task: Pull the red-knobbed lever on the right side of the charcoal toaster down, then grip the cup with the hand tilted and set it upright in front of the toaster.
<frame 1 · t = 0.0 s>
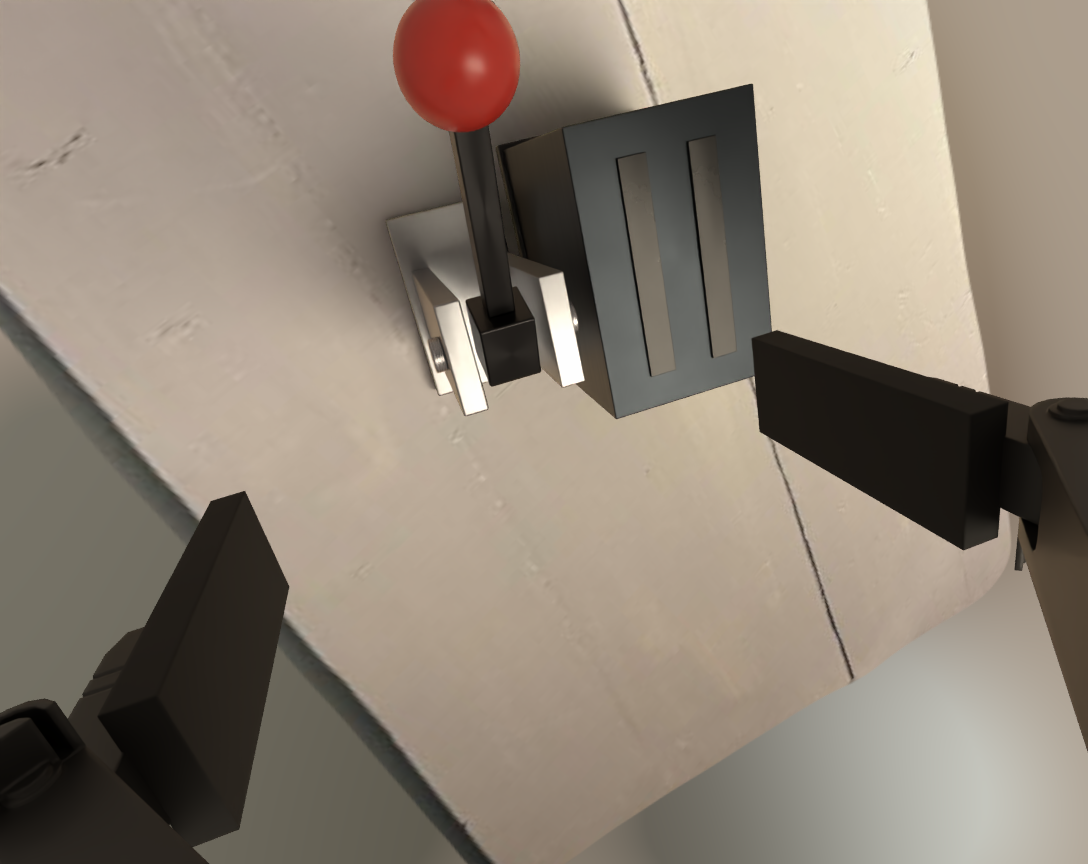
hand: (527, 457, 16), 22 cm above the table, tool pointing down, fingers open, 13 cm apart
lever: (483, 217, 22), point 14 cm above the table, hinge at 25.0°
bracket: (462, 296, 36), on the table
toaster: (588, 245, 37), on the table
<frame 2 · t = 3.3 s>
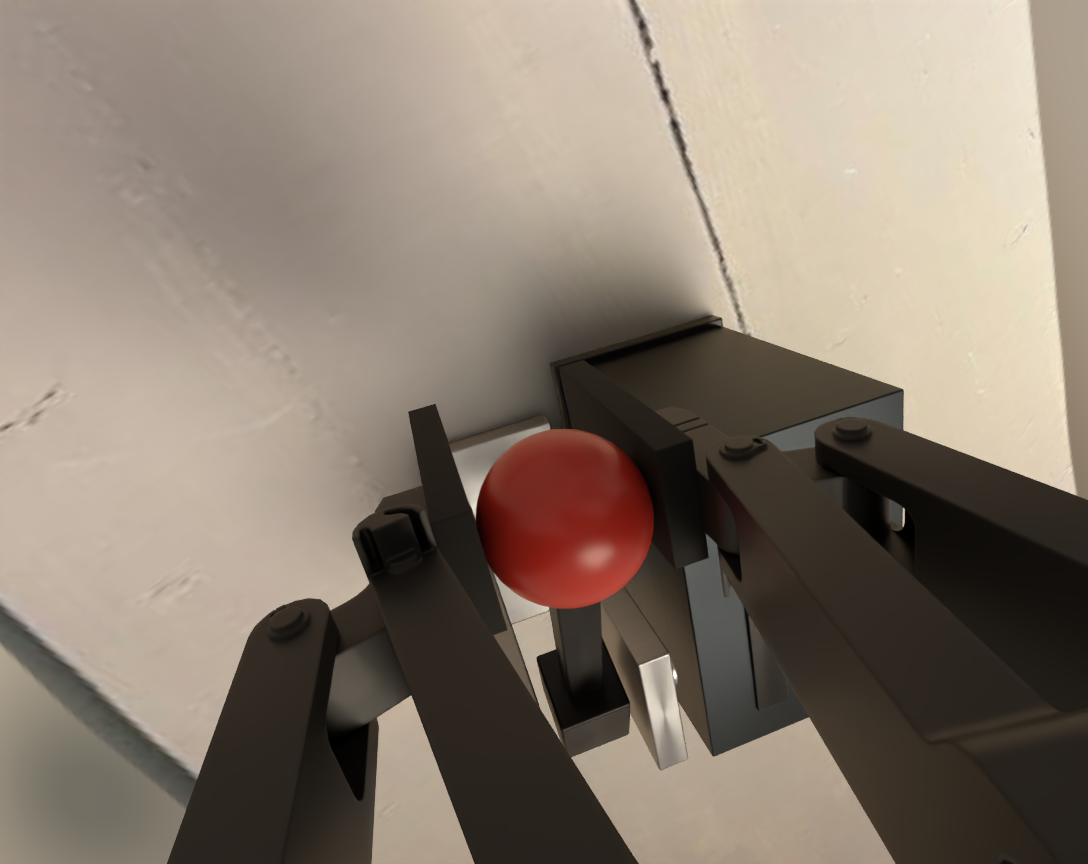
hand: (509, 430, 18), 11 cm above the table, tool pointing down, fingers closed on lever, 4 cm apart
lever: (575, 623, 16), point 14 cm above the table, hinge at 25.0°, touching gripper
bracket: (507, 522, 31), on the table
toaster: (653, 456, 32), on the table
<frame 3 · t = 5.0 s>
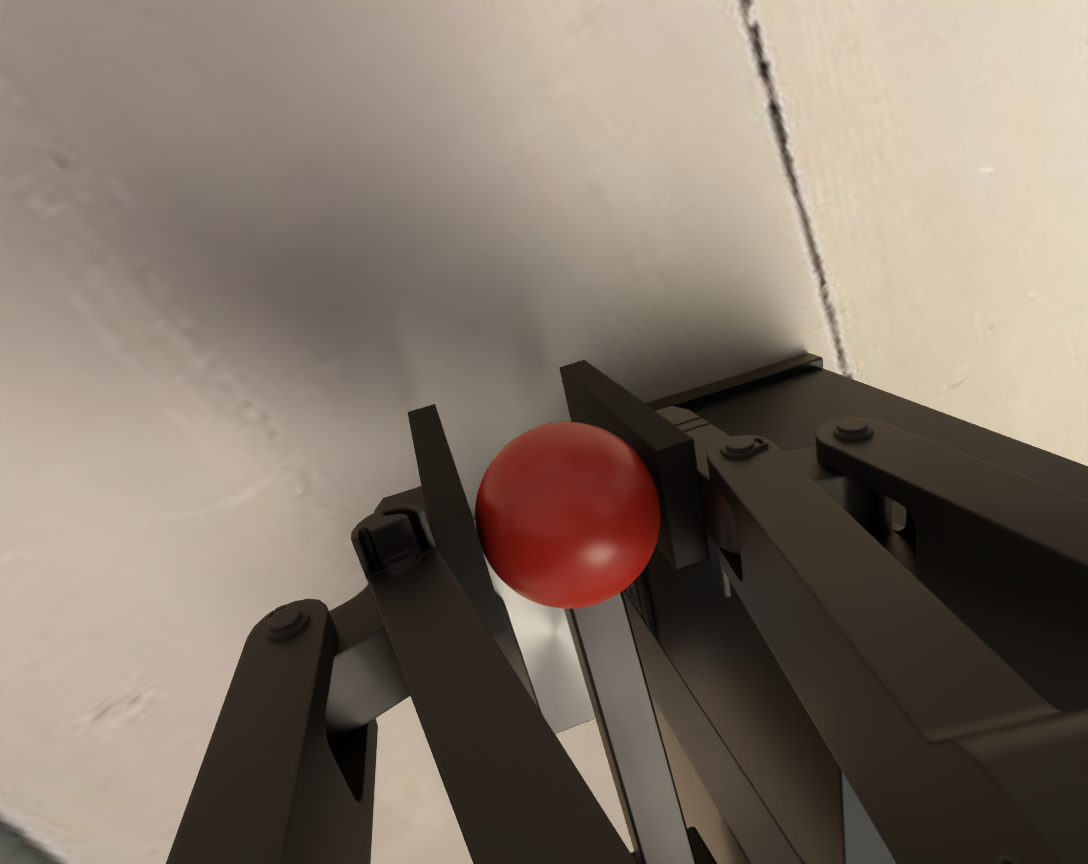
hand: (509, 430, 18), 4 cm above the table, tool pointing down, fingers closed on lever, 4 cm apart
lever: (628, 728, 13), point 11 cm above the table, hinge at -14.4°, touching gripper
bracket: (546, 611, 25), on the table
toaster: (726, 526, 26), on the table
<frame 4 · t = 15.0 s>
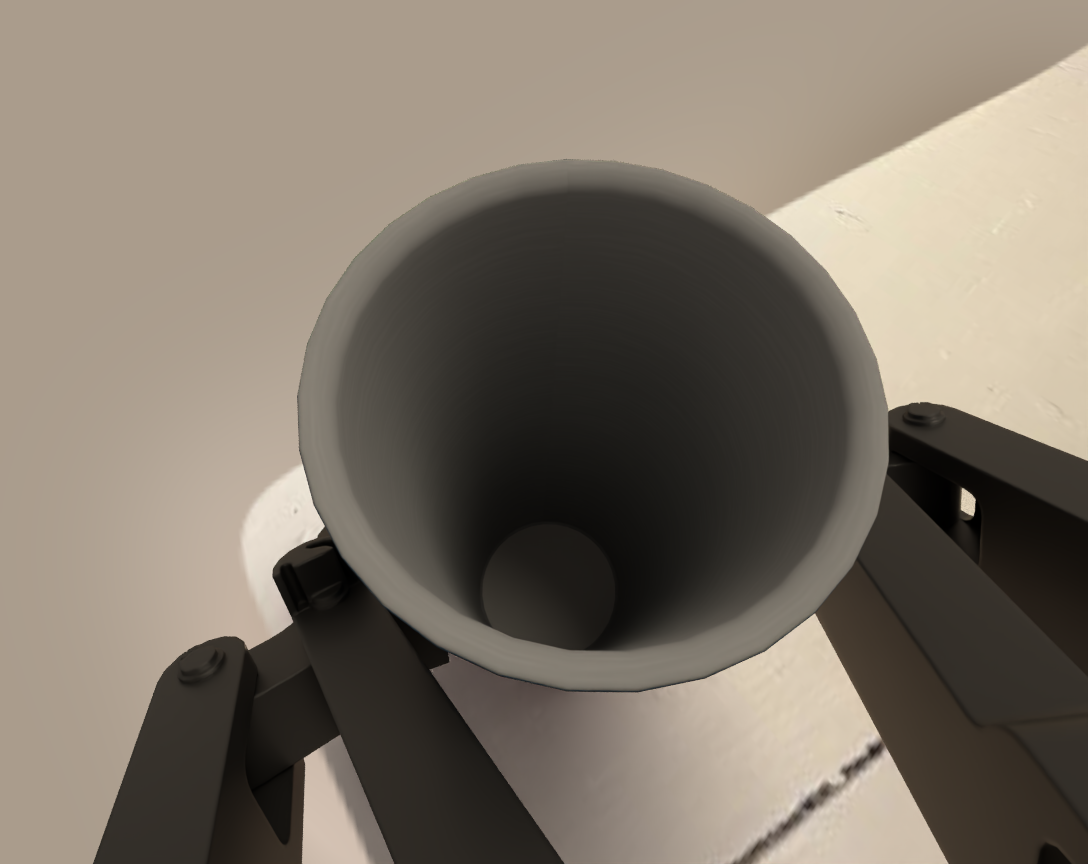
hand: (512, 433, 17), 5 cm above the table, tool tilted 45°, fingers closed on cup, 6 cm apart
cup: (548, 592, 21), on the table, touching gripper
when the fingers open (5 cm above the table, at t = 22.9 s): cup stays where it is, on the table.
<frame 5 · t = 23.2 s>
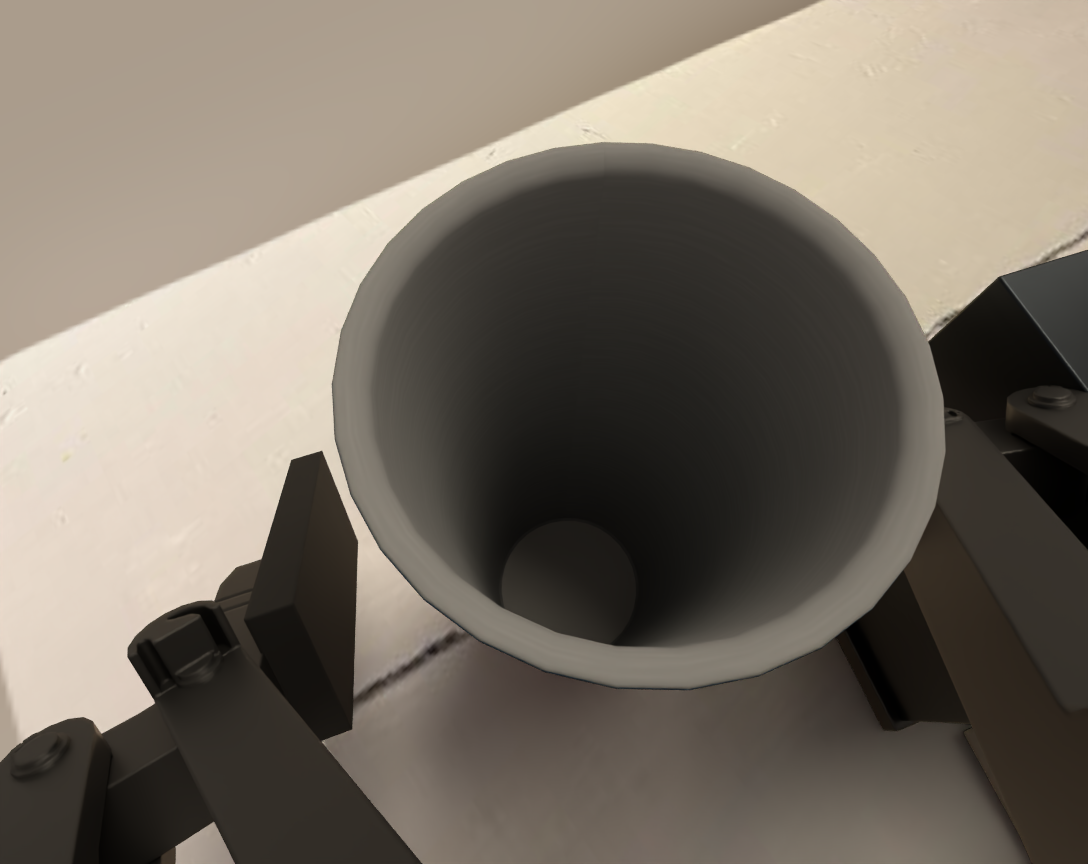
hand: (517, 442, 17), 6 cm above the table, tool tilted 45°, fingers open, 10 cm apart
cup: (567, 589, 21), on the table
toaster: (976, 538, 22), on the table
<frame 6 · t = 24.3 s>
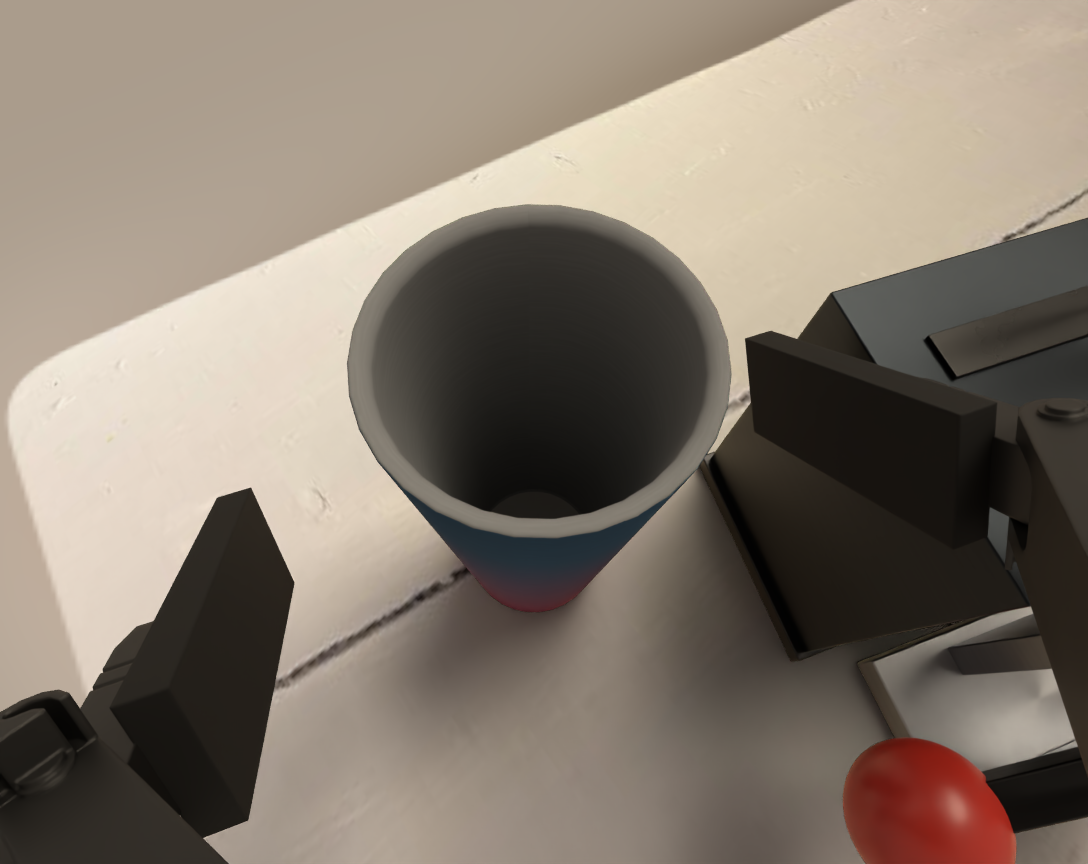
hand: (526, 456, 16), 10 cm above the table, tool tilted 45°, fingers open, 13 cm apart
cup: (533, 548, 25), on the table
bracket: (1015, 698, 23), on the table
toaster: (877, 507, 26), on the table
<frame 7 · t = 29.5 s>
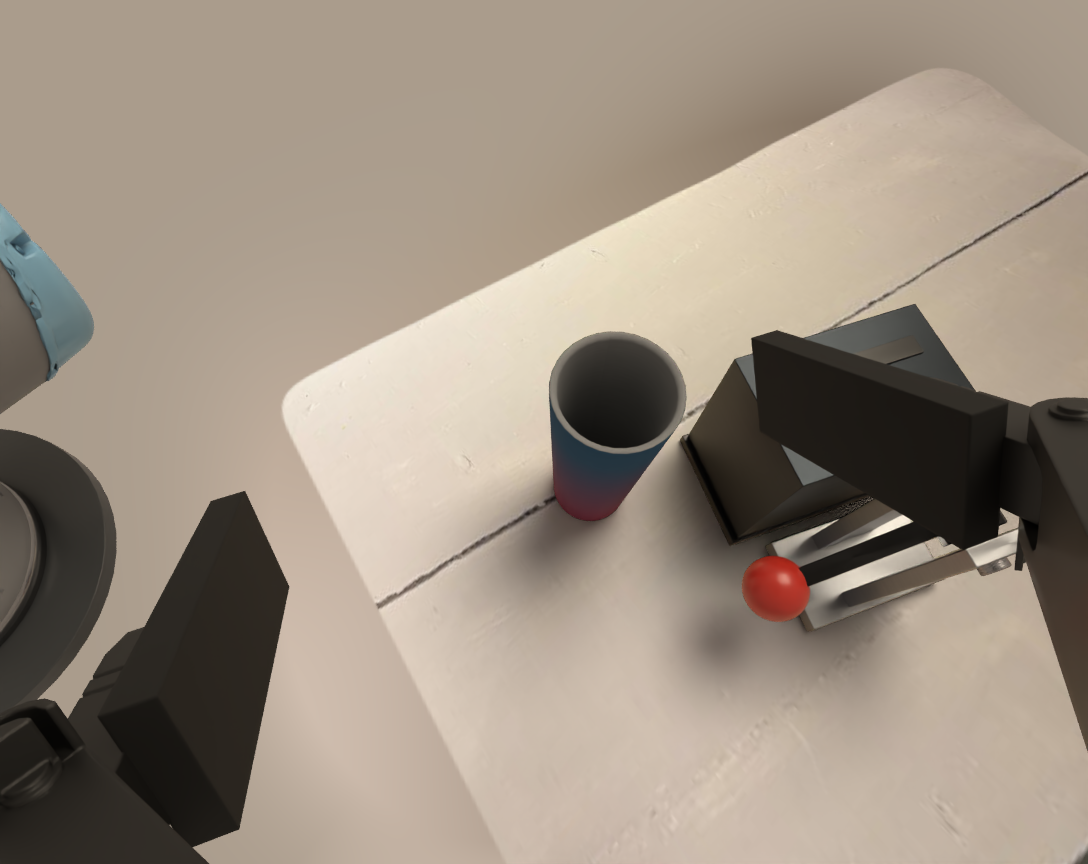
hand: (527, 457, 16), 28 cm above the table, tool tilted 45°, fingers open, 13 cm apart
lever: (860, 555, 34), point 9 cm above the table, hinge at -30.1°
cup: (588, 487, 45), on the table
bracket: (849, 564, 43), on the table
toaster: (781, 464, 46), on the table
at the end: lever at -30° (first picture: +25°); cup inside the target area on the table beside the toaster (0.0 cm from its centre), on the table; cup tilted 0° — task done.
